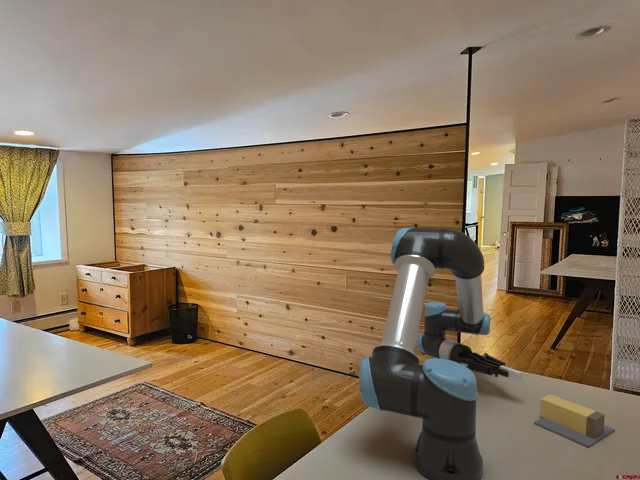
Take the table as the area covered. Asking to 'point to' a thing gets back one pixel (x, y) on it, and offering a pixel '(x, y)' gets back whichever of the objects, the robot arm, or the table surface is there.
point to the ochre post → (572, 416)
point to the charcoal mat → (572, 432)
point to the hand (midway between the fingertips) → (520, 377)
